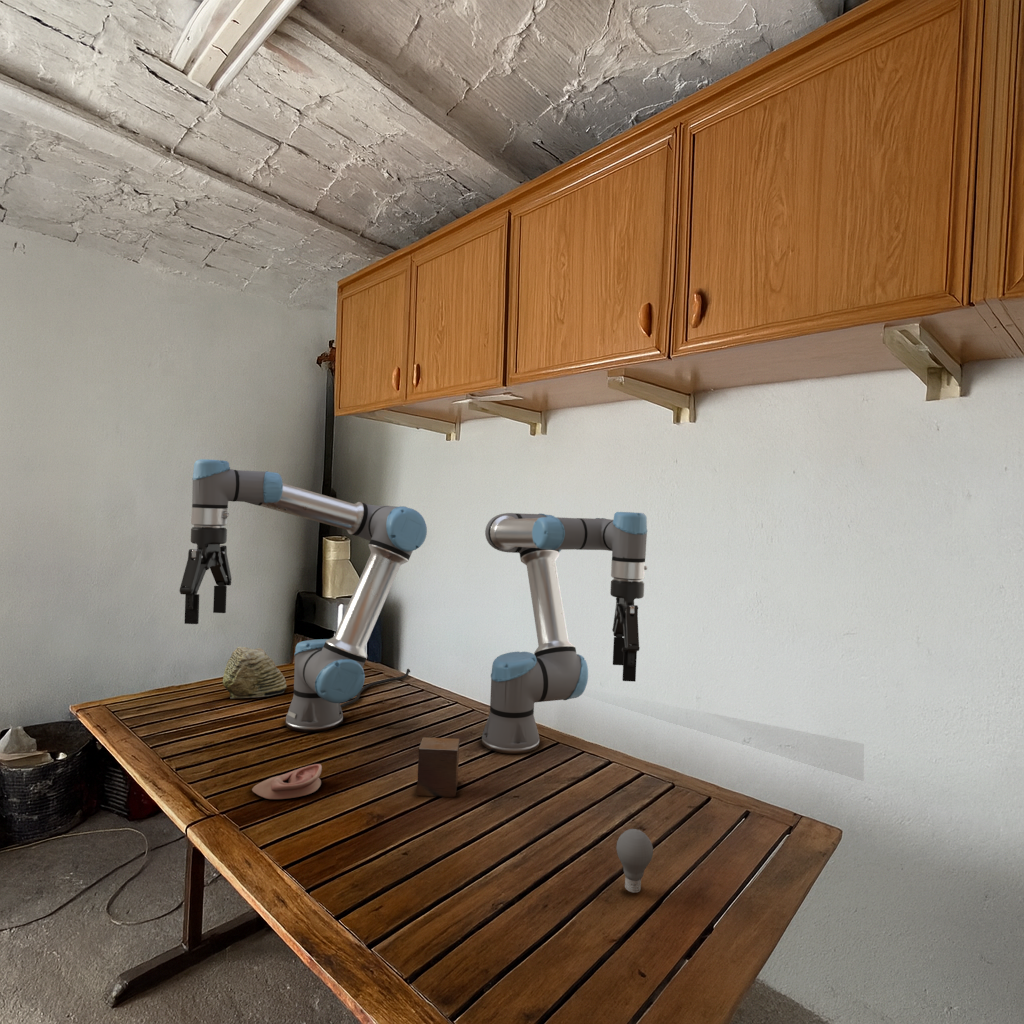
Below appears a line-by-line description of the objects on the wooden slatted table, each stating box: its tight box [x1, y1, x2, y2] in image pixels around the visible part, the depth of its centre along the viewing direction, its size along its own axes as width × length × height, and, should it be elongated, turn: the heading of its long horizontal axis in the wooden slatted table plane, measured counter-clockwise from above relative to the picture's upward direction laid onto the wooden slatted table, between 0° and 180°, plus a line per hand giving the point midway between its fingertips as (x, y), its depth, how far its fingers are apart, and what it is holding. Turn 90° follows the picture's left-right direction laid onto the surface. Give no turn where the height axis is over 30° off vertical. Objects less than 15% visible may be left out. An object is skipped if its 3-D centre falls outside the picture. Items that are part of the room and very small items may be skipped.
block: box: [416, 737, 460, 798], centre depth 139 cm, size 8×6×10 cm
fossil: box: [222, 646, 288, 699], centre depth 198 cm, size 9×18×15 cm, turn 132°
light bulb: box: [615, 828, 654, 894], centre depth 106 cm, size 6×6×10 cm
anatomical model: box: [251, 763, 323, 800], centre depth 137 cm, size 13×4×12 cm
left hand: (206, 618), depth 147 cm, fingers open, 13 cm apart
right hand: (623, 672), depth 144 cm, fingers open, 13 cm apart
